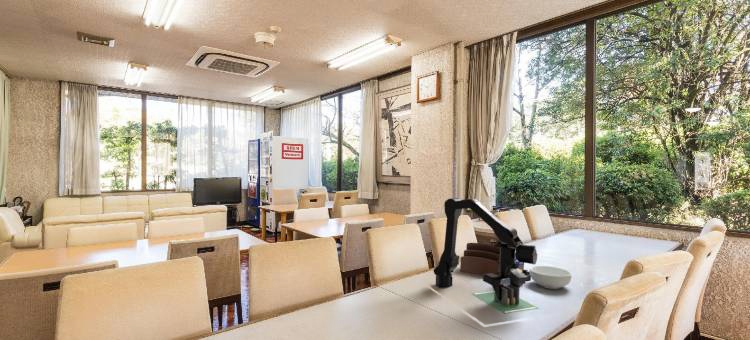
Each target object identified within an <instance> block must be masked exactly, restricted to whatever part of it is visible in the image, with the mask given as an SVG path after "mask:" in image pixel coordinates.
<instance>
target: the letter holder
mask: <svg viewBox="0 0 750 340" xmlns="http://www.w3.org/2000/svg"><path fill="white" fill-rule="evenodd" d="M494 245H495V244H489V243H482V242H467V243H466V249H465V250H463V255H462V256H460V264H459V265H460V267H459V270H460V272H463V273H466V274H468V273H469V274H472V275H473V274H474V275H478V276H482V277H483V275H484V274H489V273H493V274H495V275H497V276H499V274H497V271H499V267H500V264H498V263H497V261H499V260H500V247H495V246H494Z"/></svg>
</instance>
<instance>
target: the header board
mask: <svg viewBox="0 0 750 340" xmlns="http://www.w3.org/2000/svg"><path fill="white" fill-rule="evenodd" d="M471 295H472V296H474V297H475V298H477V299H479V300H481V301H483V302H484V303H486V304H487V305H489V306H491V307H492V308H494V309H496V310H497V311H499V312H501V313H502V314H511V313H518V312H523V311H530V310H537V309H538V310H539V309H540V308H539V307H538V306H535V305H533V304H531V303H530V302H528V301H526V300H524V299H522V298H520V297H519V304H516V303H515V297H513V305H511V304H509V298H507V306H505V305H503V304H501V303H499V302H497V301H496V300H494V290H492V291H491V290H490V291H485V292H474V293H471Z"/></svg>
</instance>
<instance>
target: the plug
mask: <svg viewBox="0 0 750 340" xmlns="http://www.w3.org/2000/svg"><path fill="white" fill-rule="evenodd" d="M503 285H504V286H503V287H502V293H501V301H499V300H498V298H497V296H496V293H495V291H494V290H493V291H494V300H496V301H497V302H499V303H501V304H503V305H505V306H507V298H509V304H511V305H513V297H515V303H516V304H519V298H520V288H517V287H515V286H513V285H511V284H509V283H504V284H503Z"/></svg>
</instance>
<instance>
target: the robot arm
mask: <svg viewBox="0 0 750 340" xmlns="http://www.w3.org/2000/svg"><path fill="white" fill-rule="evenodd" d="M443 204H444V206H443V207H444V214H445V216H446V223H445V233H444V235H445V236H444V246H443V247H444V248H443V252H442V253H441V255H440V257H439V262H438V264H437V266H436V267H434V268H433V273H434V275H435V286H436V287H437V288H440V289H441V288H442V289H448V288H451V287H452V286H453V279H454V278H453V272H454V270H455V269H457V267H458V265H460V264H459V261H460V260H459V259H460V255H457V252H456V245H457V244H456V243H457V233H458V232H457V231H458V223H459V222H458V221H459V218H460V216H461V214H462V212H463V210H464V209H470V211H472V213H474V214H475V215H477V217H479V219H480V220H482V221H483V222H484V223H485V224H487V225H488V226H489V227H490V229H492V230H493V233H494V235H495V236H496V237H497V239H499V240H498V242H496V244H493V245H494V246H495V247H500V260H499V261H497V263H498V264H500V267H499V271H497V274H499V276H497V275H495V274H493V273H489V274H484V275H483V276H482V282H484V283H486V284H488V285H490V286H491V288H492V289H493V291H495V293H496V296H497V298H498V300H499V301H501V293H502V287H503V286H504V285H503V284H501V281H502V280H510V284H511V285H513V286H515V287H517V288H519V289H520V288H521V287H522V286H521V285H522V284H523V285H526V282H530V281H531V282H532V278H531V276H530V269H527V268H525V269H524V270H523V271H522V270H519V269H518V264H517V263H515V258H516V259H517V260H518V261H519V262H523V263H524V264H531V265H536V263H537V260H538V253H537V249H536V245H532V244H531V245H530V244H529V245H528V244H524V243H523V241H522V240H521V238H520V236H519V235H518V231H517V229H516V228H515V227H513V226H511V225H510V224H509V223H507V222H504V221H502V220H500V219H499V218H498V217H497V216H496V215H494V214H493V213H492V212H491V211H490V210H489V209H487V208H486V207H485V206H484V205H483V204H482V203H481V202H480V201H479V200H478V199H477V198H469V199H465V198H464V199H461V198H458V197H452V198H447V199H446V200H445V201H444V203H443Z"/></svg>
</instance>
